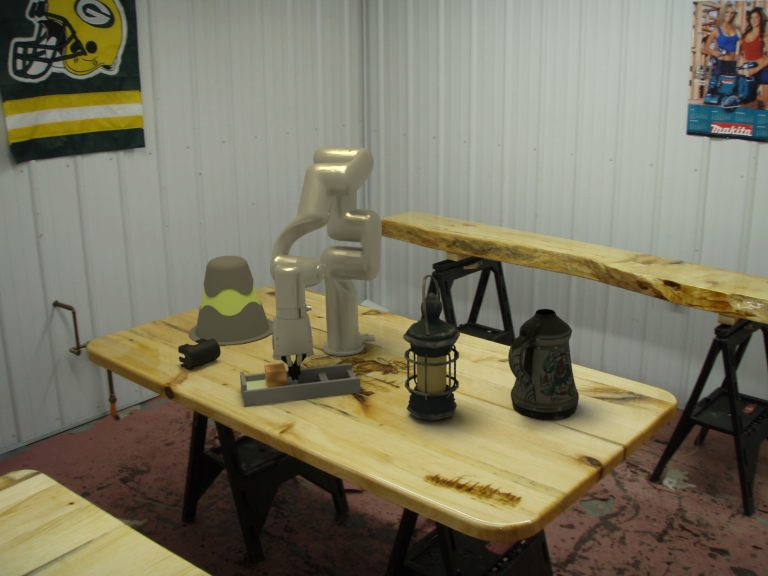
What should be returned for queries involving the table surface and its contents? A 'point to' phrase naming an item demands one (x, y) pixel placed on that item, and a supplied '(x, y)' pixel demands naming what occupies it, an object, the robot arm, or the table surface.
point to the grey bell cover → (230, 305)
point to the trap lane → (301, 385)
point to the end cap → (199, 353)
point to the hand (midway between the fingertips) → (294, 378)
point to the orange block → (275, 375)
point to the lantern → (431, 361)
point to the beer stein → (543, 368)
